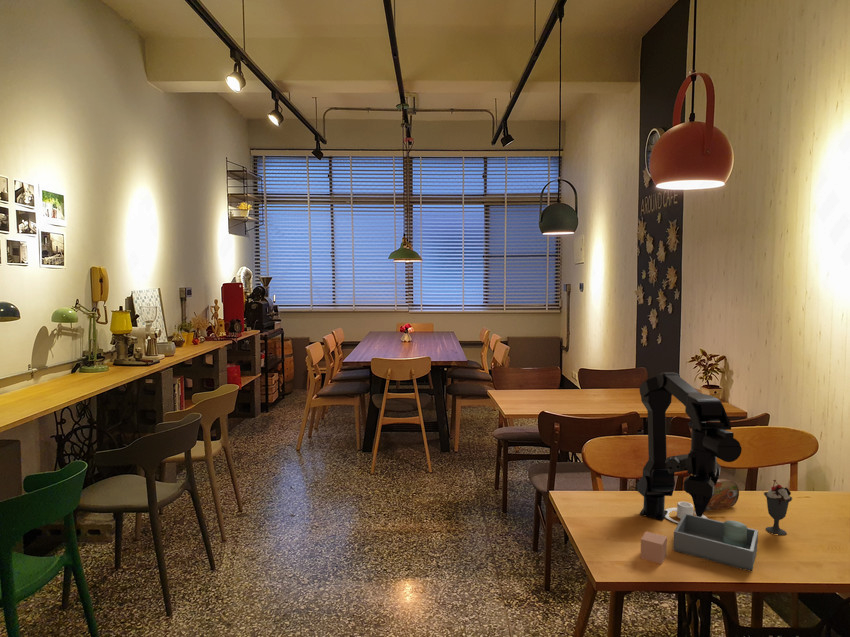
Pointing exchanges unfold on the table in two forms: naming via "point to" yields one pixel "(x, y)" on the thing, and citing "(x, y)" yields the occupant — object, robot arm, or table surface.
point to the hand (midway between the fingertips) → (701, 509)
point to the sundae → (777, 506)
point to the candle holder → (682, 510)
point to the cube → (653, 547)
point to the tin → (723, 495)
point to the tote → (713, 542)
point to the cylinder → (735, 533)
